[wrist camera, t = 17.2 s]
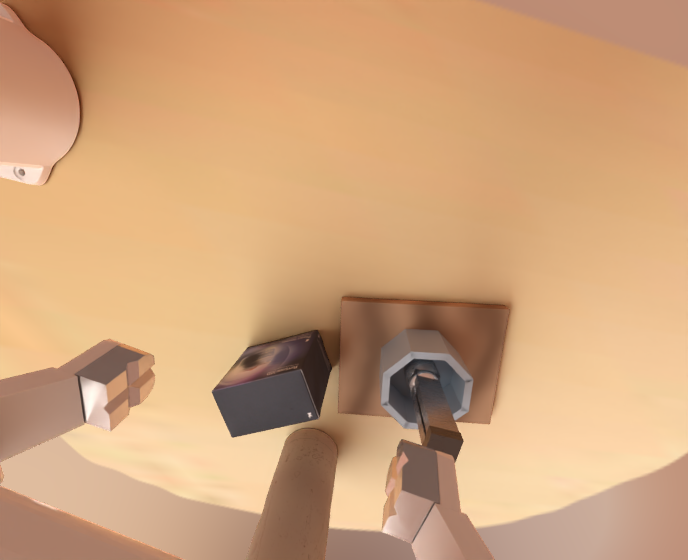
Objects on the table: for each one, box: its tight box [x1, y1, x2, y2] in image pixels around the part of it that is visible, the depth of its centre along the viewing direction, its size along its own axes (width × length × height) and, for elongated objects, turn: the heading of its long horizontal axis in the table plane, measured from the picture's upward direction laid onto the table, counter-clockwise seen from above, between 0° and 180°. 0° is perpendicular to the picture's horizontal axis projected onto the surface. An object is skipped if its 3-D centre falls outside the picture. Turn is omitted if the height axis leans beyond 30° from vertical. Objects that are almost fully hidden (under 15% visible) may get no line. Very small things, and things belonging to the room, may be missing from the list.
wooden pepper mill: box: [246, 428, 338, 560], centre depth 35 cm, size 8×8×28 cm
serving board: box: [338, 297, 510, 424], centre depth 42 cm, size 20×16×2 cm
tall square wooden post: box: [403, 359, 463, 462], centre depth 34 cm, size 4×4×13 cm
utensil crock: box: [379, 329, 473, 429], centre depth 39 cm, size 10×10×6 cm
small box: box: [212, 330, 332, 437], centre depth 39 cm, size 11×6×10 cm, turn 108°
